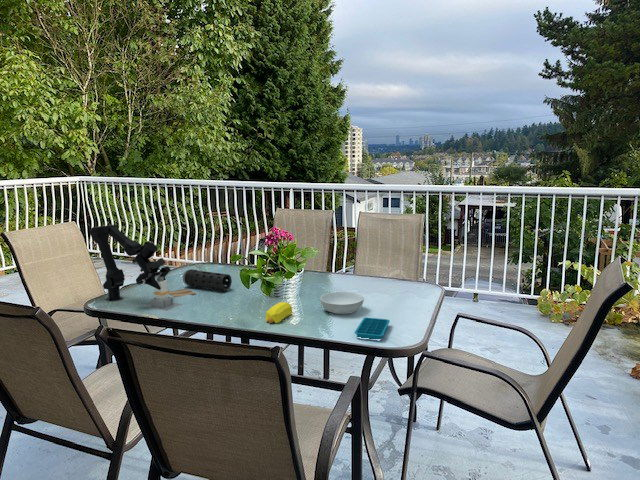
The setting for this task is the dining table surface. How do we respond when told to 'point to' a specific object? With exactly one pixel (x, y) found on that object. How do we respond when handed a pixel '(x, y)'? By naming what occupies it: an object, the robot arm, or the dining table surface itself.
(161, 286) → the plug
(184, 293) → the pad
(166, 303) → the socket panel
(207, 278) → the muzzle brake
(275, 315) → the yellow oblong piece
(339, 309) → the serving bowl
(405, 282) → the dining table surface
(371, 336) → the ice cube tray
